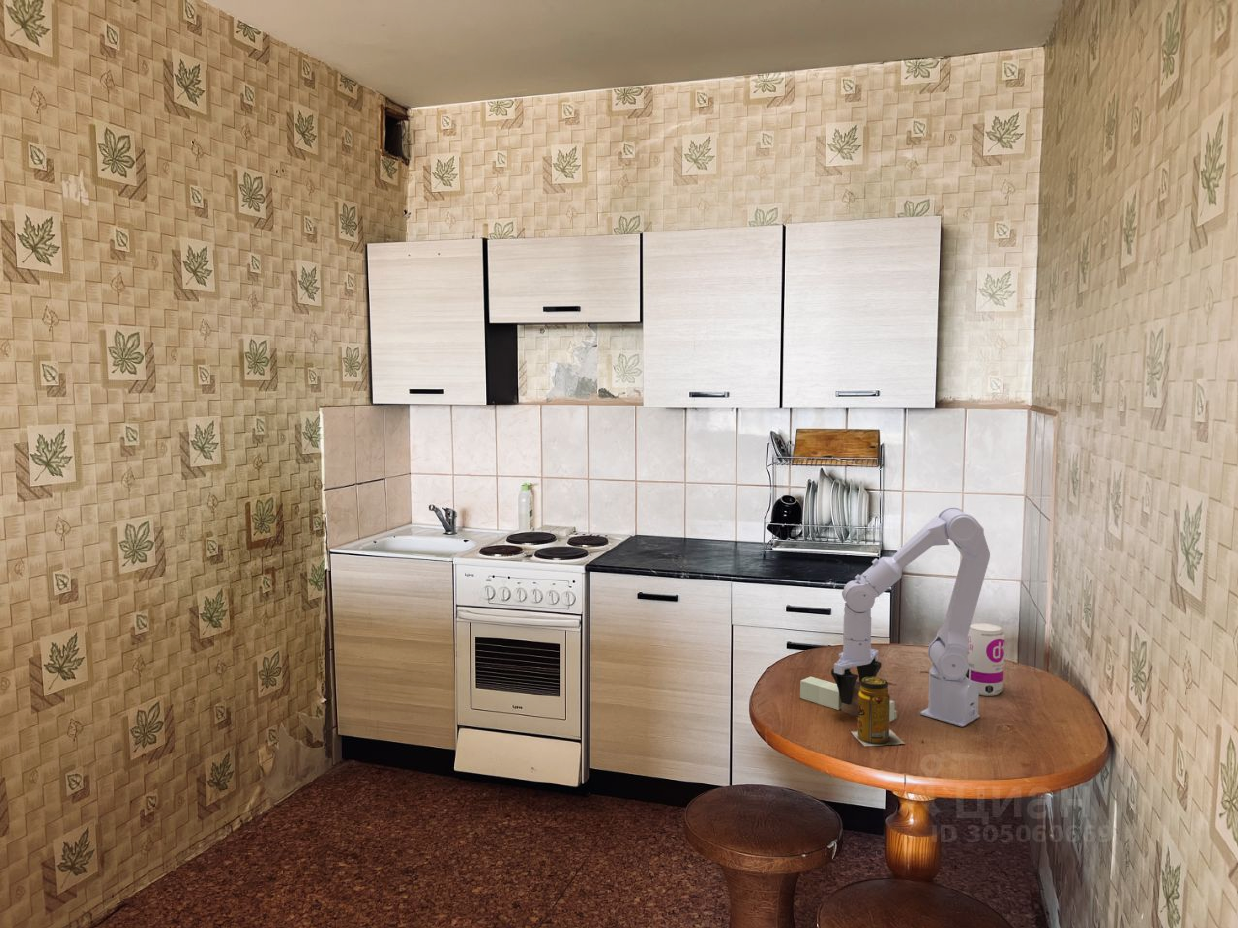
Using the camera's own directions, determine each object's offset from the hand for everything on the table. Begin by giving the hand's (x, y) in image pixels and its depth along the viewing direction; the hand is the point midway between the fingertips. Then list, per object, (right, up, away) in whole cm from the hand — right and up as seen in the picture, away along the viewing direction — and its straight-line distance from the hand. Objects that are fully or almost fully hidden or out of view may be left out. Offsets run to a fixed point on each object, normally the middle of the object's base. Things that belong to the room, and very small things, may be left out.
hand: (855, 698), depth 185 cm
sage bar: (-2, -3, +2) cm, 4 cm away
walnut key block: (0, -3, 0) cm, 3 cm away
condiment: (+1, -5, -13) cm, 14 cm away
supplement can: (+33, -2, +12) cm, 35 cm away
